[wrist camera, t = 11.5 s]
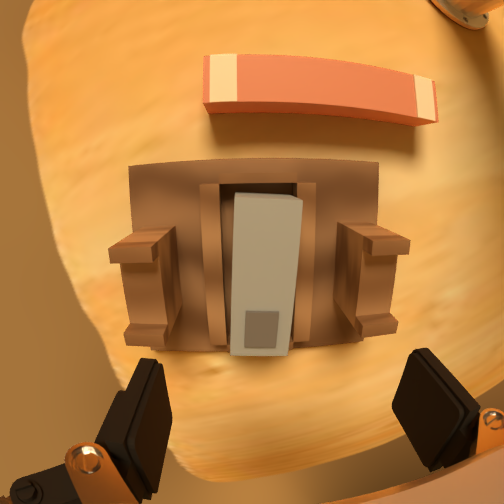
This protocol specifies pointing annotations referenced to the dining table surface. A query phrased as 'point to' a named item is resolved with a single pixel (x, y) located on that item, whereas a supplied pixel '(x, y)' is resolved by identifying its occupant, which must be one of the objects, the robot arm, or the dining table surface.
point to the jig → (221, 251)
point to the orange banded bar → (316, 88)
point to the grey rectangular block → (264, 272)
